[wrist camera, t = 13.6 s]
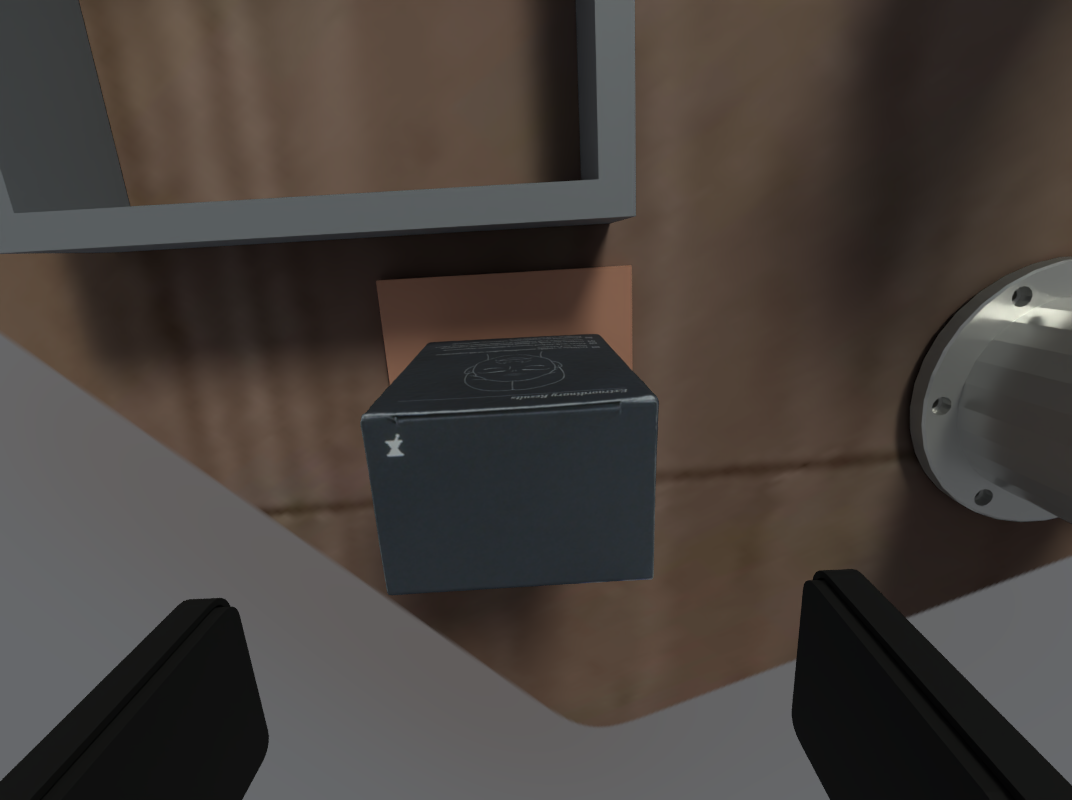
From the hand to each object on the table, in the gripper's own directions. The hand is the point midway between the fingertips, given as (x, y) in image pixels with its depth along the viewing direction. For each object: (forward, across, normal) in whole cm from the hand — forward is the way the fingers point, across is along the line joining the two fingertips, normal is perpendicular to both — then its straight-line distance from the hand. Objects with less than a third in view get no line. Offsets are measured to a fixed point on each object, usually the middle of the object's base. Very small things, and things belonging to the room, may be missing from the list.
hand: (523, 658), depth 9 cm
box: (+16, +1, 0) cm, 16 cm away
